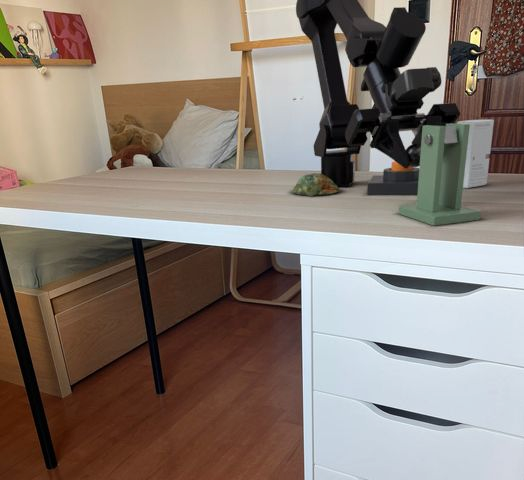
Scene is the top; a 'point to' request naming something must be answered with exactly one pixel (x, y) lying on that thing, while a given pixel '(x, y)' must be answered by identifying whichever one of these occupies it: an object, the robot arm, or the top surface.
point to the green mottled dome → (315, 185)
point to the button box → (394, 183)
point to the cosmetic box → (478, 152)
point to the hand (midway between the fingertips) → (419, 165)
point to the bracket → (441, 179)
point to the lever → (415, 149)
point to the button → (399, 167)
